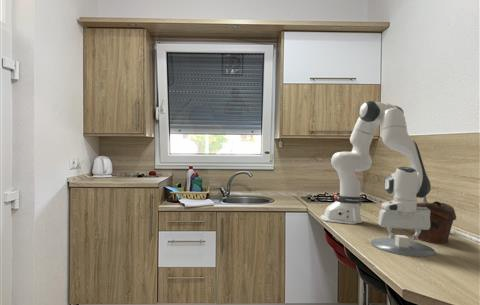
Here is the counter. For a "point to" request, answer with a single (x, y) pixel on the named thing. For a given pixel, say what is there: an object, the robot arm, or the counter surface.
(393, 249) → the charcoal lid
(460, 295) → the counter surface
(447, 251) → the counter surface
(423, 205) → the brown tapered pot
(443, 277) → the counter surface
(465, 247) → the counter surface
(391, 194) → the robot arm
